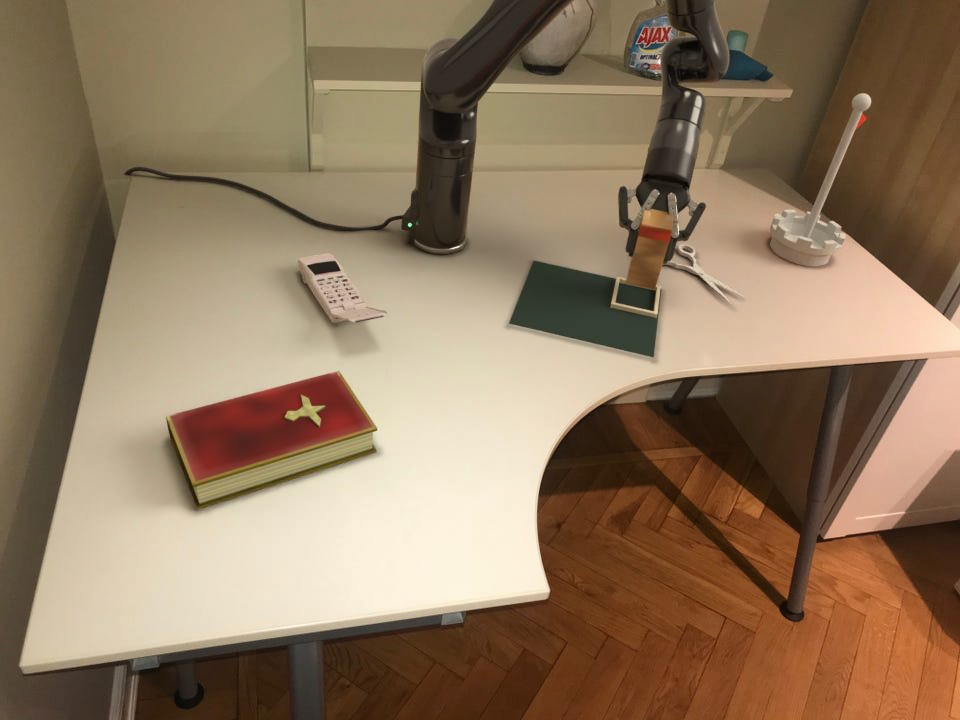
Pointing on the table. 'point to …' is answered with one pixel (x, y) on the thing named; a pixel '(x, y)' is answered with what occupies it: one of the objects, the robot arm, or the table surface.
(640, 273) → the box
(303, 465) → the hardcover book
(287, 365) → the table surface
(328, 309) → the mobile phone
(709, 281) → the scissors
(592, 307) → the mat
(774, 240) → the flag stand
